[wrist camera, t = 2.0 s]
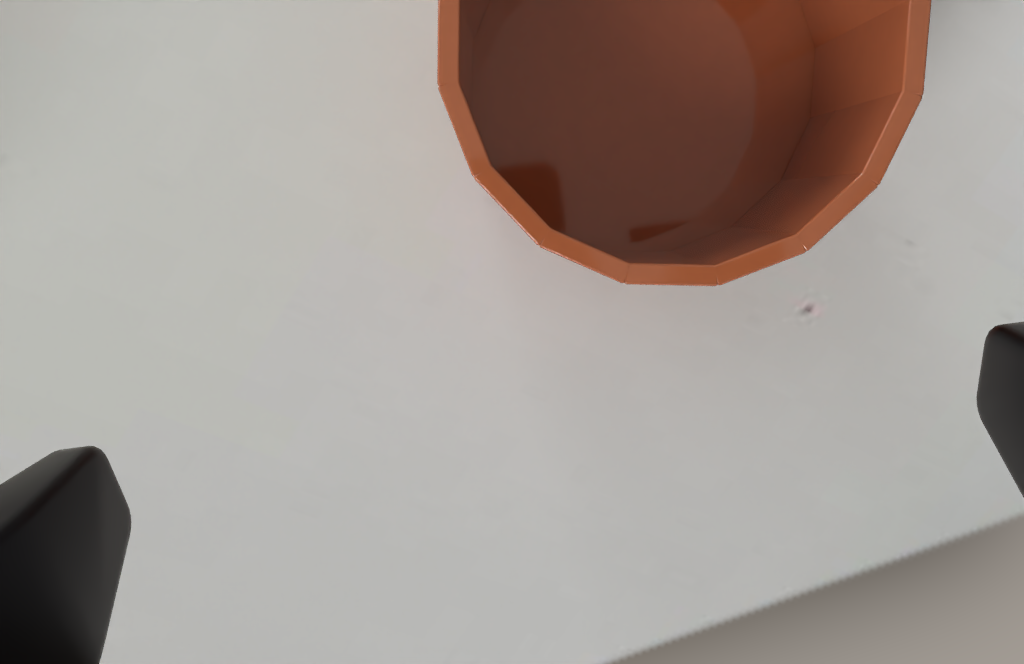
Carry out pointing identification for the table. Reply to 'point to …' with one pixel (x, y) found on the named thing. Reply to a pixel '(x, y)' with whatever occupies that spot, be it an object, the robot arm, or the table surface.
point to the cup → (680, 123)
